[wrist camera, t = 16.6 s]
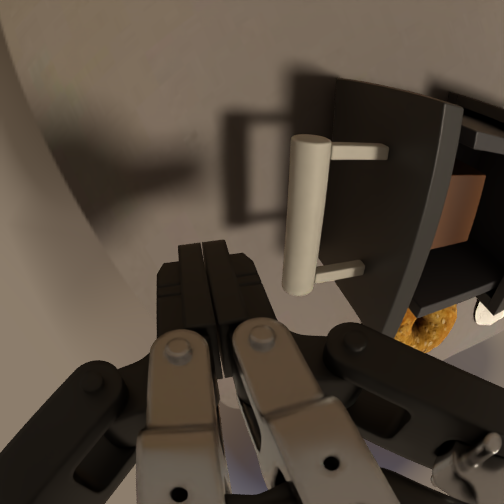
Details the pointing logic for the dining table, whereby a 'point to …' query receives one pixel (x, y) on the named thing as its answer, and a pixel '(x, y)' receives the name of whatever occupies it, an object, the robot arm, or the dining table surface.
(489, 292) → the cabinet
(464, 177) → the block
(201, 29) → the dining table surface
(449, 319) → the bagel
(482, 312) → the plaque
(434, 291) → the drawer
